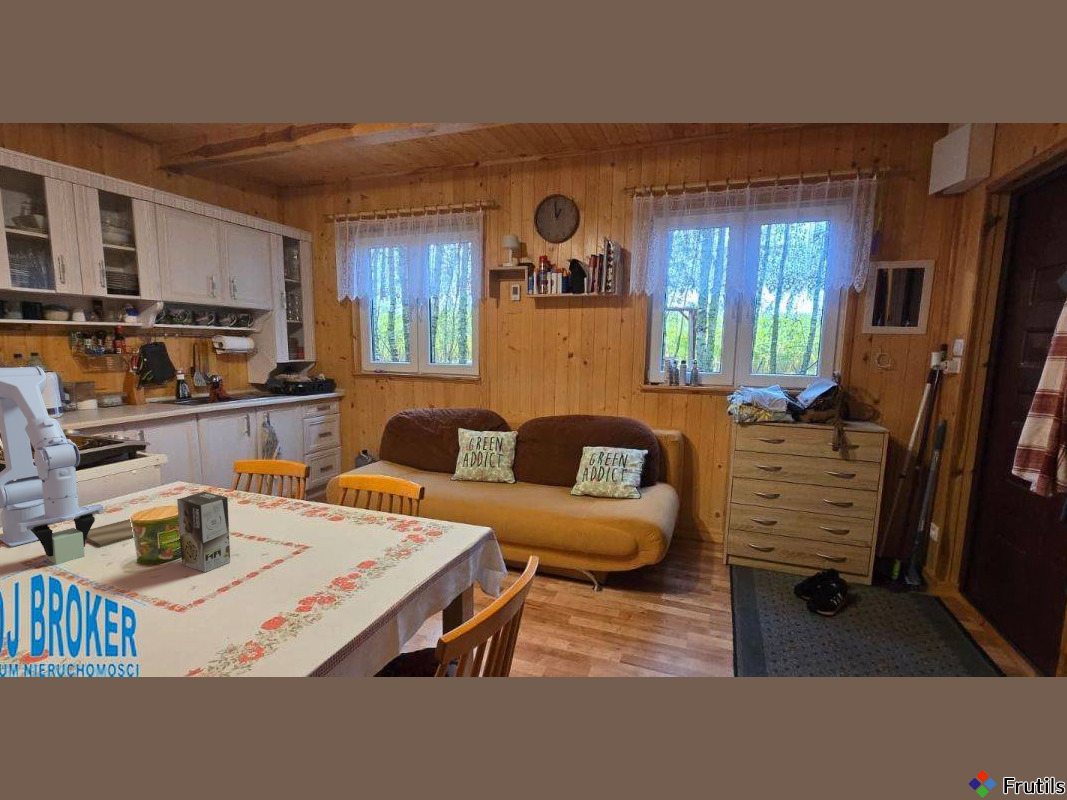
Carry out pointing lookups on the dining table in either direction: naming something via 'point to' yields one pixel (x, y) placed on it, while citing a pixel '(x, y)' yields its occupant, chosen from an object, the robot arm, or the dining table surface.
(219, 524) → the coffee box
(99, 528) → the walnut base board
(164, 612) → the dining table surface
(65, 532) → the sage block
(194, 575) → the dining table surface
